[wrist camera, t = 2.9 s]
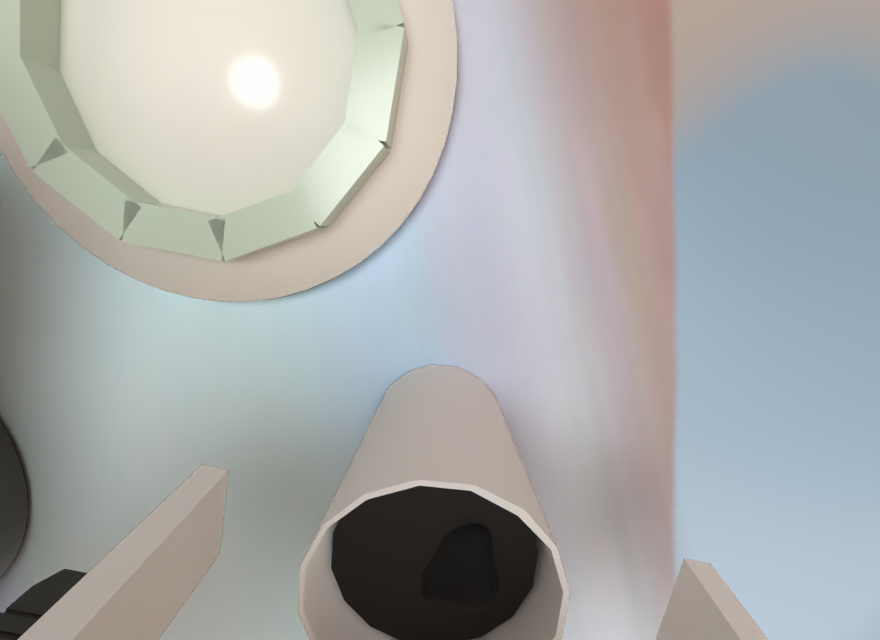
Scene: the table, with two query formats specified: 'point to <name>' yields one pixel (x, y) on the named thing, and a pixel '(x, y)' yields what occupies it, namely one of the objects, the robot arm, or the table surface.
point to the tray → (227, 131)
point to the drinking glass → (434, 527)
